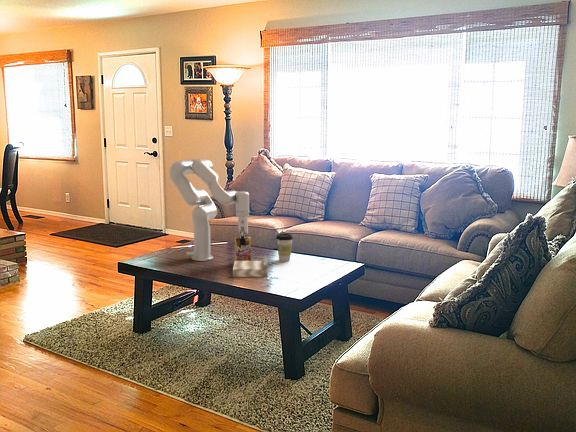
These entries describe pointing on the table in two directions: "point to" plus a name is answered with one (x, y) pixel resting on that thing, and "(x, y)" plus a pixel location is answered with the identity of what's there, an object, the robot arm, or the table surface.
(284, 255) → the coffee cup
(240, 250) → the candy box
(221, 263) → the table surface
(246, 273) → the low shelf
